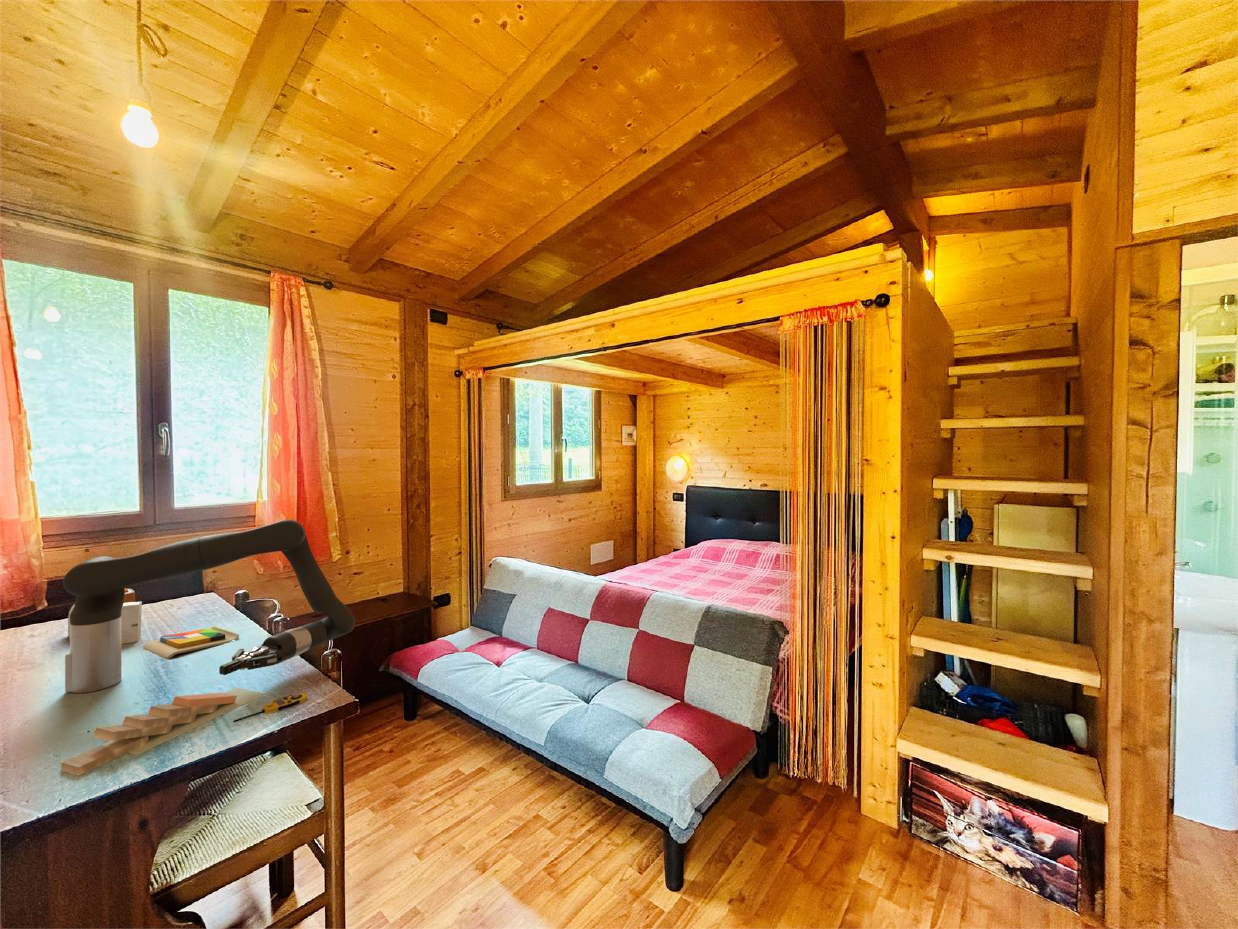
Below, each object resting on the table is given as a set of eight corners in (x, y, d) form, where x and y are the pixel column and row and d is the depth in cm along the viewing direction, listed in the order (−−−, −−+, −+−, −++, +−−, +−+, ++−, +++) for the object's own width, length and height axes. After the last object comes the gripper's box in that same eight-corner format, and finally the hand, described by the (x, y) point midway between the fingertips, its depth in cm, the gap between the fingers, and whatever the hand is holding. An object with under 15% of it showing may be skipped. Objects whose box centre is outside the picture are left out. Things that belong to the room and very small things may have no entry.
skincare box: (111, 645, 154) (111, 607, 154) (115, 641, 158) (115, 603, 158) (138, 641, 158) (138, 604, 158) (142, 637, 162) (142, 600, 161)
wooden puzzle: (240, 640, 162) (240, 630, 162) (168, 661, 145) (168, 649, 145) (213, 631, 170) (213, 621, 170) (141, 650, 153) (141, 638, 153)
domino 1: (148, 743, 103) (78, 775, 93) (131, 739, 105) (61, 770, 94) (148, 735, 103) (78, 767, 93) (131, 731, 105) (61, 762, 94)
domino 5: (234, 702, 120) (187, 707, 110) (219, 699, 122) (172, 704, 112) (237, 695, 121) (190, 699, 111) (222, 692, 122) (174, 696, 112)
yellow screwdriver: (310, 695, 122) (236, 720, 110) (310, 703, 122) (236, 729, 110) (302, 690, 125) (229, 713, 113) (302, 697, 125) (229, 721, 113)
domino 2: (169, 732, 107) (109, 741, 97) (153, 729, 108) (92, 736, 98) (172, 724, 107) (113, 732, 97) (156, 720, 109) (96, 727, 99)
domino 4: (215, 712, 116) (164, 717, 106) (199, 708, 117) (148, 714, 107) (217, 704, 116) (167, 709, 106) (202, 701, 118) (151, 706, 108)
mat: (136, 757, 99) (136, 755, 99) (103, 748, 102) (103, 746, 102) (265, 695, 125) (265, 693, 125) (236, 689, 128) (236, 687, 128)
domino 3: (193, 722, 111) (138, 728, 101) (177, 718, 113) (122, 724, 103) (196, 714, 112) (142, 720, 102) (180, 710, 113) (125, 716, 103)
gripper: (269, 628, 138) (201, 652, 121) (306, 634, 134) (242, 659, 118) (269, 655, 138) (201, 682, 121) (306, 661, 134) (242, 690, 118)
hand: (221, 670), depth 119 cm, fingers closed
